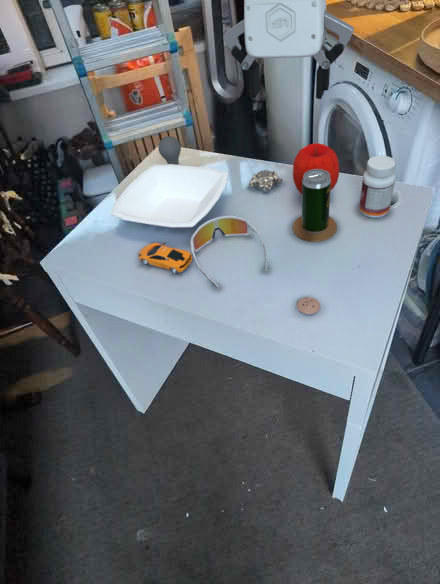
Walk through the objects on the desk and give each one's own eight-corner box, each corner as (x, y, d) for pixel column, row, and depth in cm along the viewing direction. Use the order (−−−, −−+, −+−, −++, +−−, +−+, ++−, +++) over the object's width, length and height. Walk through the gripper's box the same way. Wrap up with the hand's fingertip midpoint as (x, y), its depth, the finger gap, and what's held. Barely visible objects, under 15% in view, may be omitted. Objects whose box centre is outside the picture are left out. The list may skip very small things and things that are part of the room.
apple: (346, 199, 95) (351, 148, 87) (309, 215, 93) (310, 164, 85) (320, 179, 102) (322, 130, 93) (284, 194, 100) (283, 145, 91)
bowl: (202, 252, 90) (197, 230, 86) (108, 236, 98) (100, 215, 94) (239, 191, 103) (236, 169, 99) (154, 181, 111) (149, 161, 107)
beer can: (304, 236, 88) (304, 185, 80) (299, 220, 92) (299, 170, 83) (330, 233, 88) (334, 181, 79) (325, 217, 91) (328, 166, 83)
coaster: (339, 217, 92) (340, 215, 91) (332, 244, 86) (332, 243, 86) (297, 212, 94) (297, 211, 94) (288, 239, 89) (288, 237, 89)
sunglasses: (247, 224, 94) (246, 207, 90) (276, 274, 85) (277, 258, 81) (185, 244, 92) (181, 228, 88) (208, 298, 83) (205, 282, 79)
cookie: (299, 297, 77) (299, 293, 77) (322, 300, 76) (322, 297, 75) (294, 313, 75) (294, 309, 74) (318, 317, 74) (318, 313, 73)
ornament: (250, 198, 101) (249, 184, 98) (247, 182, 105) (246, 168, 103) (284, 193, 100) (284, 179, 97) (280, 177, 105) (280, 163, 102)
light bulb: (161, 177, 112) (151, 141, 105) (172, 166, 115) (163, 130, 108) (179, 180, 110) (170, 144, 103) (190, 169, 113) (182, 133, 106)
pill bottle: (360, 200, 95) (366, 152, 86) (390, 202, 93) (399, 154, 84) (357, 217, 91) (362, 169, 83) (388, 220, 89) (397, 171, 81)
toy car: (150, 246, 93) (146, 233, 91) (197, 259, 88) (194, 246, 86) (134, 263, 90) (129, 251, 88) (182, 278, 85) (178, 265, 83)
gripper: (204, -39, 51) (223, 105, 64) (356, -53, 46) (344, 107, 58) (225, -53, 56) (238, 84, 68) (364, -67, 50) (351, 84, 63)
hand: (287, 94), depth 63 cm, fingers open, 9 cm apart
